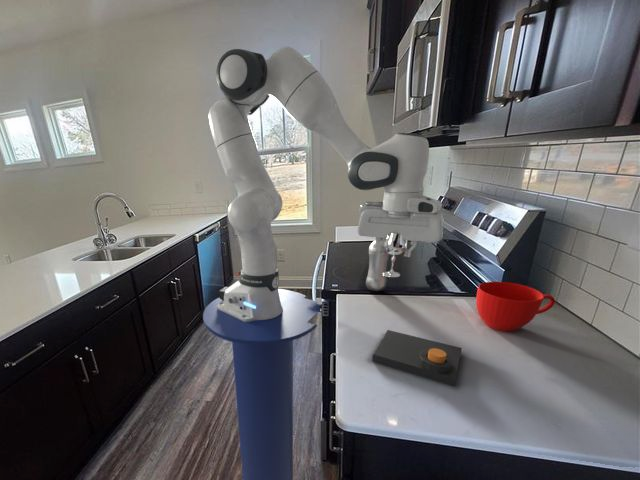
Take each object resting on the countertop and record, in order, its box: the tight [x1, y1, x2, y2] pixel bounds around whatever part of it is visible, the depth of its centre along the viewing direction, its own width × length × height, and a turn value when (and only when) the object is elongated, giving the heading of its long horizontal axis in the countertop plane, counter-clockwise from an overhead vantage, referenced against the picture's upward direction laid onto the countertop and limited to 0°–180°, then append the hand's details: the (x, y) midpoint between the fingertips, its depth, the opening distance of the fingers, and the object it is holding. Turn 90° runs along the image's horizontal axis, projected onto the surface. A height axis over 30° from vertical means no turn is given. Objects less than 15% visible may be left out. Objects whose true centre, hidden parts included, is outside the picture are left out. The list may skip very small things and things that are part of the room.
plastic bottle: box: [365, 237, 390, 292], centre depth 107 cm, size 6×7×20 cm
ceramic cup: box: [475, 281, 556, 332], centre depth 82 cm, size 13×17×10 cm
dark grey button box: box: [371, 329, 463, 387], centre depth 72 cm, size 16×13×4 cm
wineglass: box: [383, 233, 409, 278], centre depth 86 cm, size 6×6×12 cm
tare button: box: [428, 348, 447, 364], centre depth 67 cm, size 3×3×2 cm
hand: (394, 254), depth 86 cm, fingers closed on wineglass, 5 cm apart
